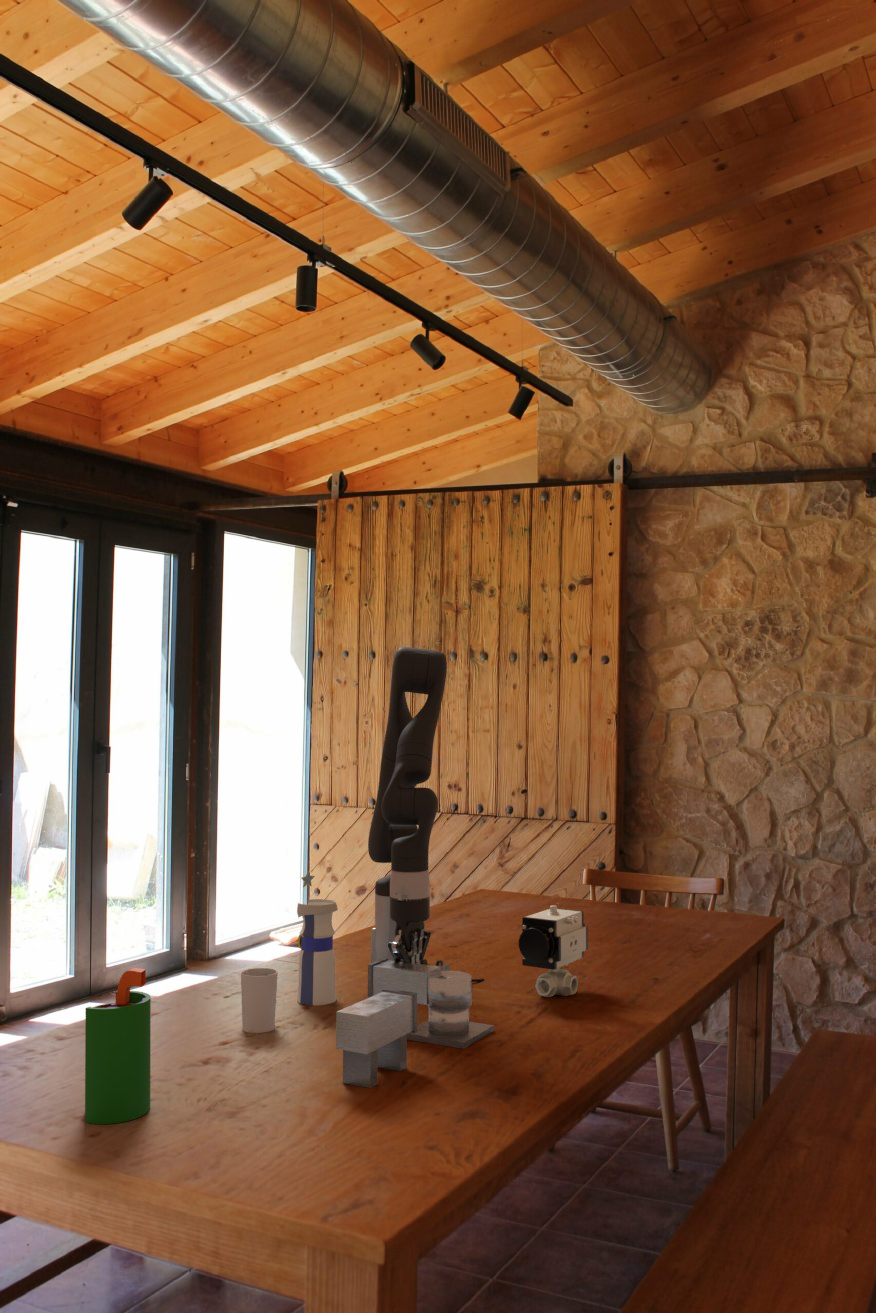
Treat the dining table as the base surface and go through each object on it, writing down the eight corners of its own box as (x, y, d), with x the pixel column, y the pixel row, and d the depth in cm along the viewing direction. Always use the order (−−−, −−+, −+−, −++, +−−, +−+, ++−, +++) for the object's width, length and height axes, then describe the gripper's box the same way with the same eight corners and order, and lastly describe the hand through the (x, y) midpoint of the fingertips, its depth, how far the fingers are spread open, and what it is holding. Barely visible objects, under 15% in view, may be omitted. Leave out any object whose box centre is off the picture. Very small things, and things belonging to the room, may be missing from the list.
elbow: (478, 1002, 196) (478, 967, 196) (459, 1013, 189) (460, 976, 189) (386, 990, 204) (386, 956, 204) (365, 1000, 197) (365, 965, 197)
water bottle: (285, 1002, 215) (287, 874, 216) (310, 993, 222) (311, 869, 224) (320, 1008, 211) (321, 877, 212) (344, 998, 219) (345, 872, 220)
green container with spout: (93, 1099, 160) (96, 961, 161) (155, 1097, 161) (158, 960, 162) (76, 1125, 150) (80, 977, 151) (143, 1123, 151) (146, 976, 152)
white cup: (262, 1020, 202) (263, 966, 202) (284, 1028, 197) (285, 972, 198) (232, 1027, 197) (233, 971, 198) (253, 1035, 193) (254, 978, 193)
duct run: (368, 1091, 164) (369, 1014, 165) (334, 1085, 167) (334, 1009, 168) (416, 1064, 177) (417, 992, 178) (383, 1058, 180) (384, 988, 181)
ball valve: (555, 1006, 213) (555, 914, 214) (517, 1000, 217) (517, 910, 218) (594, 987, 228) (593, 901, 229) (557, 982, 232) (557, 897, 233)
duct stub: (402, 1038, 191) (402, 1009, 191) (434, 1021, 202) (435, 994, 202) (463, 1048, 186) (463, 1018, 186) (493, 1030, 196) (493, 1002, 196)
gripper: (409, 886, 213) (409, 976, 212) (374, 897, 201) (374, 992, 201) (443, 889, 210) (443, 981, 209) (410, 901, 198) (410, 998, 197)
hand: (409, 986), depth 205 cm, fingers closed
